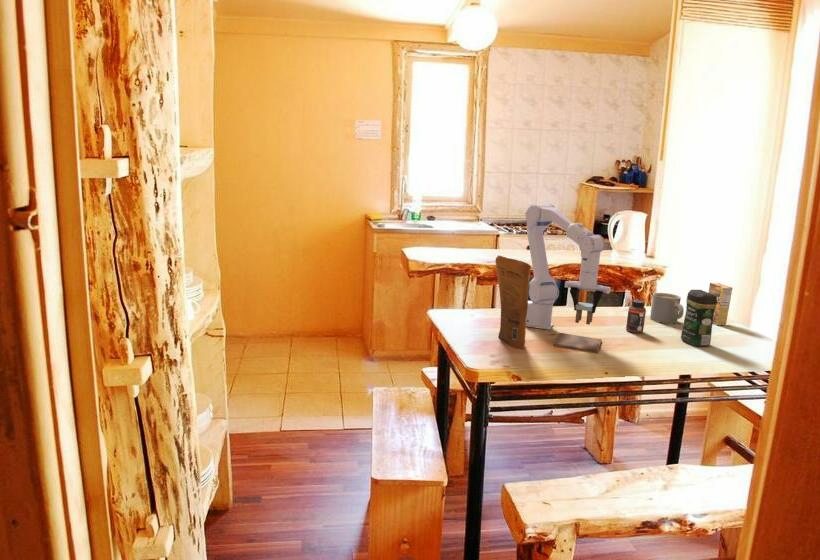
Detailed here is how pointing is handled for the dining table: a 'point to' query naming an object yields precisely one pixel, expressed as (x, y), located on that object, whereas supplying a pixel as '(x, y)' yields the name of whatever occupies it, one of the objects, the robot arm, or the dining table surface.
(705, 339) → the coffee jar
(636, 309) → the supplement bottle
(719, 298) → the candy box
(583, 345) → the walnut board
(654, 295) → the coffee mug
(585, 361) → the dining table surface
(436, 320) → the dining table surface
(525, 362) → the dining table surface
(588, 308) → the stool
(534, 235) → the robot arm
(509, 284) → the pancake mix bag
